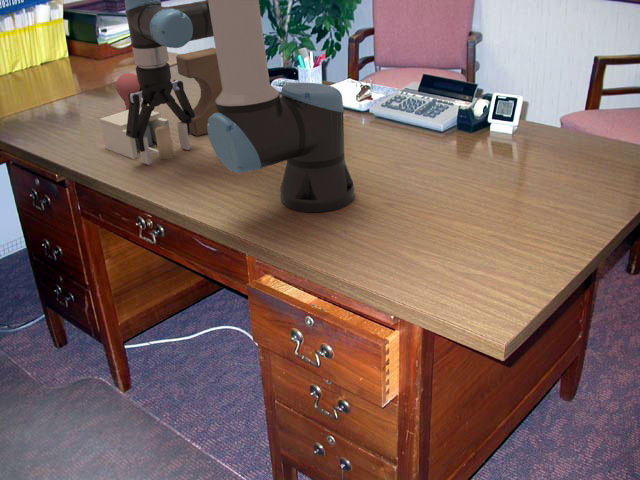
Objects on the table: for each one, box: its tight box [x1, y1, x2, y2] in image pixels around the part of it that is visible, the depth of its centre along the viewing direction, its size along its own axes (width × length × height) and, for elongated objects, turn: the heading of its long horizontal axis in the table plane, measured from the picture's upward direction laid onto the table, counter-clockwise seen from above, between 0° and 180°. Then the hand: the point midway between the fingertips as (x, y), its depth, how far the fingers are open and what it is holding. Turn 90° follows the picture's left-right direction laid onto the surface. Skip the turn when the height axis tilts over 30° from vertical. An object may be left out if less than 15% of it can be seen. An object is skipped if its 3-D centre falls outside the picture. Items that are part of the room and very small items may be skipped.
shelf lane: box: [99, 106, 170, 160], centre depth 175 cm, size 12×11×8 cm
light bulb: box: [115, 72, 140, 111], centre depth 196 cm, size 7×7×12 cm
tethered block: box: [135, 125, 175, 160], centre depth 172 cm, size 17×6×7 cm, turn 48°
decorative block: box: [175, 47, 222, 137], centre depth 181 cm, size 11×6×20 cm, turn 127°
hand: (166, 155), depth 170 cm, fingers open, 11 cm apart
